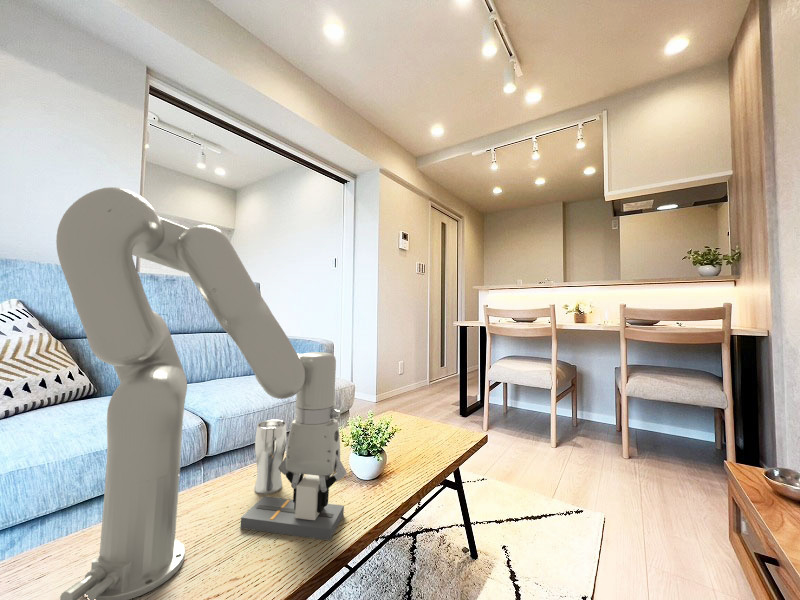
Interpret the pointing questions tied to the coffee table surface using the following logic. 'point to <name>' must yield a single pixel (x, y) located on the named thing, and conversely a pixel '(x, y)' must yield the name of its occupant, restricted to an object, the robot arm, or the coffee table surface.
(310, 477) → the fader knob
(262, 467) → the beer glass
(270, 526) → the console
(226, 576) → the coffee table surface
